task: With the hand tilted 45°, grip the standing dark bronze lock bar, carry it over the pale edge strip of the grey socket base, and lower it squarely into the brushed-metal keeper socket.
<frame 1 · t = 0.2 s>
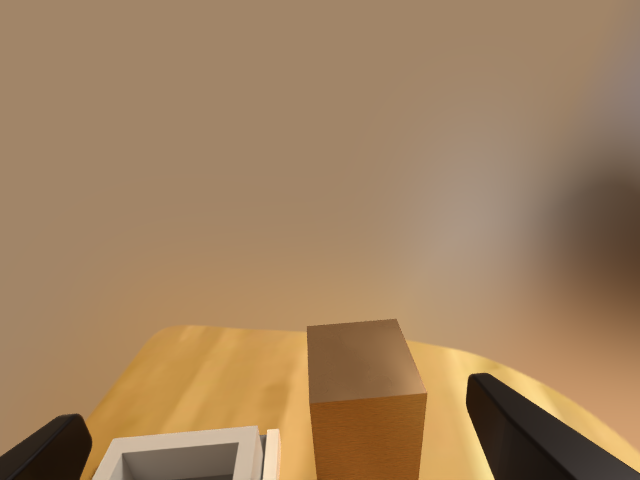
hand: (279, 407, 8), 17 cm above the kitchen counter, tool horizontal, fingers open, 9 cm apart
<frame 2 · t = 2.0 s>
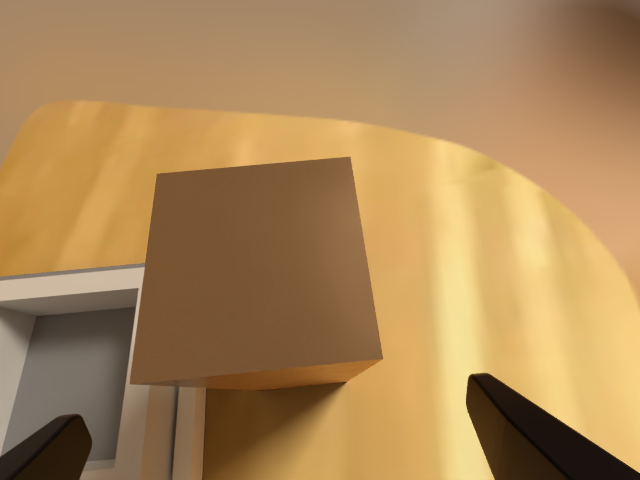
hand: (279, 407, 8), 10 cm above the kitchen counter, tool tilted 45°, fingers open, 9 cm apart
grey socket base: (76, 472, 16), on the kitchen counter
lock bar: (300, 341, 18), on the kitchen counter
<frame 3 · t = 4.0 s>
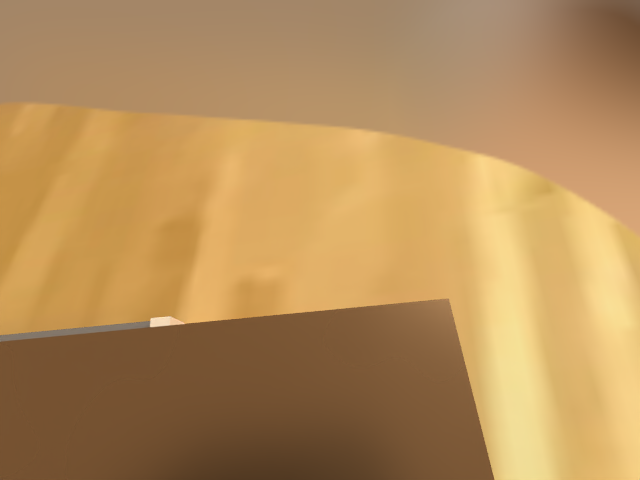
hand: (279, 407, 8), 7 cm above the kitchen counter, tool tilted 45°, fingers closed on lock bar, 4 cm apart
lock bar: (302, 438, 13), on the kitchen counter, touching gripper
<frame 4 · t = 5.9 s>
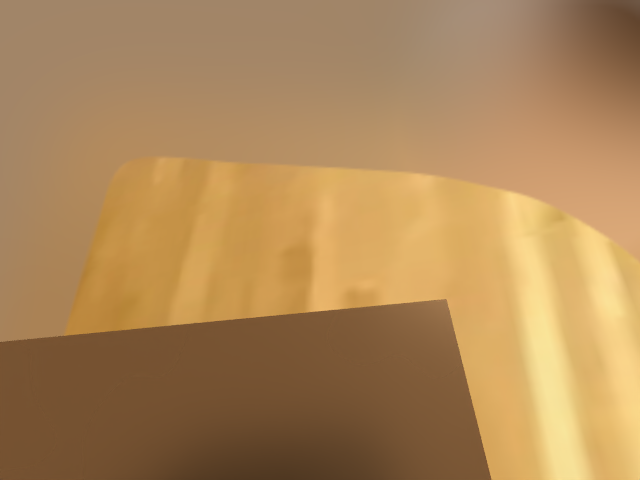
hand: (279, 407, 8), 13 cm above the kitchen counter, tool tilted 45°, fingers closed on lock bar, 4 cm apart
lock bar: (303, 437, 13), point 7 cm above the kitchen counter, touching gripper
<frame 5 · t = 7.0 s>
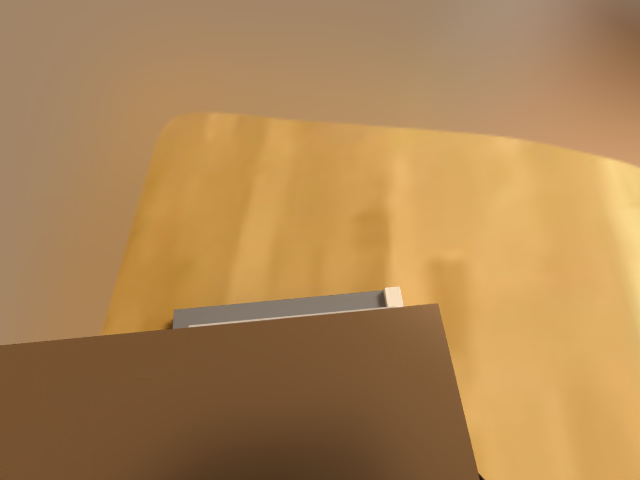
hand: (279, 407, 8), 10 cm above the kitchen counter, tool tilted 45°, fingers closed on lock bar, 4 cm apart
lock bar: (302, 436, 14), point 3 cm above the kitchen counter, touching gripper
when the fingers open (9 cm above the kitchen counter, at t = 8.0 s): lock bar stays where it is, resting on grey socket base.
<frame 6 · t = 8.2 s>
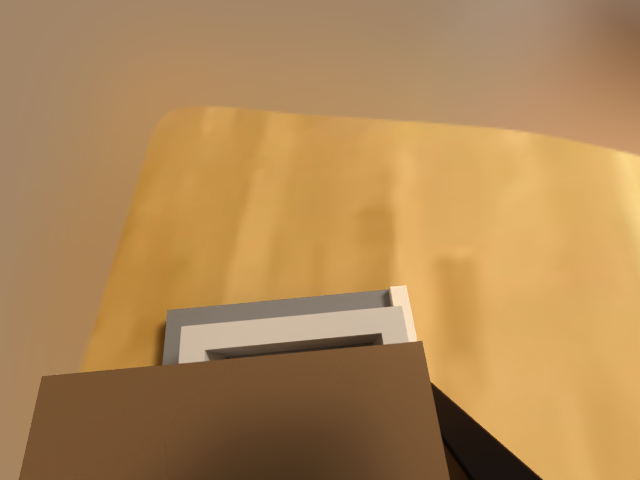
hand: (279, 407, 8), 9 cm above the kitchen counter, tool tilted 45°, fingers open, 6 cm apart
lock bar: (306, 434, 15), point 1 cm above the kitchen counter, touching grey socket base
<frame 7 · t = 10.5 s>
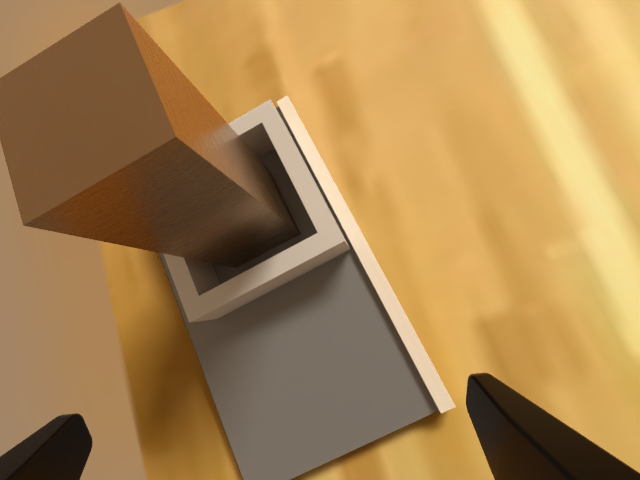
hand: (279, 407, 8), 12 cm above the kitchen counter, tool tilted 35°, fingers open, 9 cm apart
grey socket base: (276, 281, 21), on the kitchen counter
lock bar: (253, 219, 21), point 1 cm above the kitchen counter, touching grey socket base
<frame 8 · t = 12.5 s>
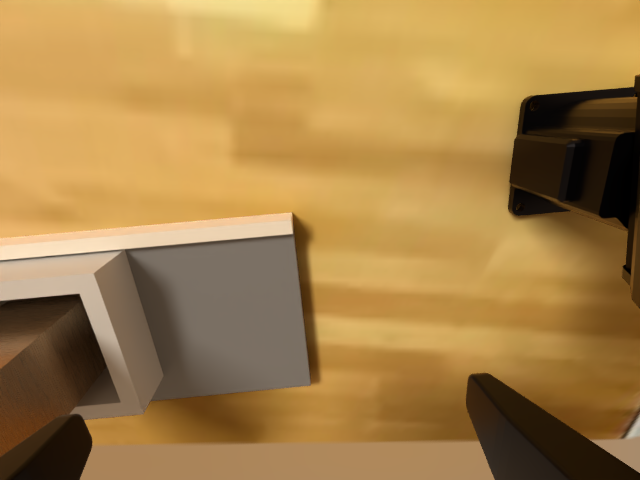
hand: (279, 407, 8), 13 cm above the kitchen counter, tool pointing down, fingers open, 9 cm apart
grey socket base: (146, 316, 22), on the kitchen counter
lock bar: (71, 323, 20), point 1 cm above the kitchen counter, touching grey socket base
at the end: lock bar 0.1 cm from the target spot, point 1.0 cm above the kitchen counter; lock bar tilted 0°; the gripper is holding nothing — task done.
